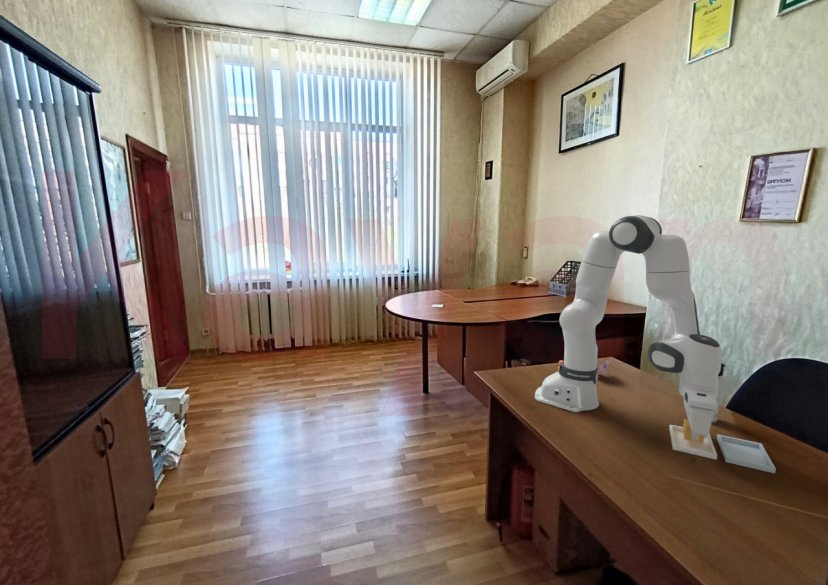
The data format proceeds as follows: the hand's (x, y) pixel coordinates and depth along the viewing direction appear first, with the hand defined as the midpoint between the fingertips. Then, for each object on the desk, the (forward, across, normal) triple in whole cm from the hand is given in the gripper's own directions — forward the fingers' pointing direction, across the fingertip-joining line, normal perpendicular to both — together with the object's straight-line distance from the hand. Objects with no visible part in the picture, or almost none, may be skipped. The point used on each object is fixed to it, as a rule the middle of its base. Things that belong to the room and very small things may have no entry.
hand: (693, 433), depth 109 cm
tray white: (+3, 0, 0) cm, 3 cm away
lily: (+4, -42, -27) cm, 50 cm away
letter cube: (+1, 0, 0) cm, 1 cm away
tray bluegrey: (+4, 0, +12) cm, 12 cm away
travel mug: (+4, -19, +6) cm, 21 cm away
